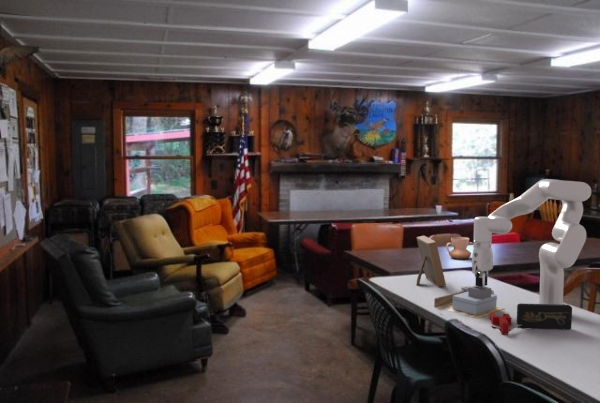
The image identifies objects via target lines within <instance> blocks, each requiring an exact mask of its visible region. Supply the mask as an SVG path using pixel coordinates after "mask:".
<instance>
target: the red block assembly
mask: <svg viewBox="0 0 600 403" xmlns="http://www.w3.org/2000/svg"><path fill="white" fill-rule="evenodd" d="M488 315H489V318H488V319H489V321H490V323H491V324H492V325H491V328H492V329H498V330H499V331H500V333H501V335H509V333H510V327H511V326H512V316H511V315H510V314H509V313H503V314H502V315H497V314H496V312H495V313H490V314H488ZM497 326H499V327H497Z"/></svg>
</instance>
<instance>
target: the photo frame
mask: <svg viewBox="0 0 600 403" xmlns="http://www.w3.org/2000/svg"><path fill="white" fill-rule="evenodd" d="M416 241H417V246H418V250H419V253H420V254H419V255H420V260H421V263H422V264H421V267H420V270H419V272H418V275H417V278H416V279H417V280H416V286H418V285H419V284H420V283H421V279H422V275H423V272H424V276H425V279H427V280H428V281H429V282H431V283H432V284H433V285H434V286H436V287H437V288H440V287H441V288H442V287H445V286H447V284H446V283H447V282H446V280H445V274H444V270H443V267H442V266H443V265H442V262H441V258H440V257H441V256H440V253H439V249H438V244H437V241H436V240H434V239H432V238H430V237H428V236H426V235H421V236H416Z"/></svg>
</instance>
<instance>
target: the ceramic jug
mask: <svg viewBox="0 0 600 403" xmlns="http://www.w3.org/2000/svg"><path fill="white" fill-rule="evenodd" d="M450 241H451V242H447V243H446V246H445V248H446V251H447V252H448V255H449V257H451V258H453V259H455V260H466V259H469V258H470V257H471V255H472V252H471V251H469V250H468V249H467V248H468V246H469V245H473V244H474V242H471V241H470V238H469V237H465V236H463V237H462V236H461V237H460V236H459V237H451V238H450ZM449 245H450V246H452V247H453V249H451V250H450V249H449Z"/></svg>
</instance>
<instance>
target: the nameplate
mask: <svg viewBox="0 0 600 403" xmlns="http://www.w3.org/2000/svg"><path fill="white" fill-rule="evenodd" d="M572 314H573V307H572V306H571V305H570V304H565V305H562V304H539V303H520V302H519V303H517V305H516V324H517V325H518V326H517V328H519V329H526V328H531V329H532V330H535V329H536V330H561V331H562V330H563V331H565V330H566V331H567V330H568V331H569V330H572V326H573V325H572V320H573V315H572ZM531 329H530V330H531Z"/></svg>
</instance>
